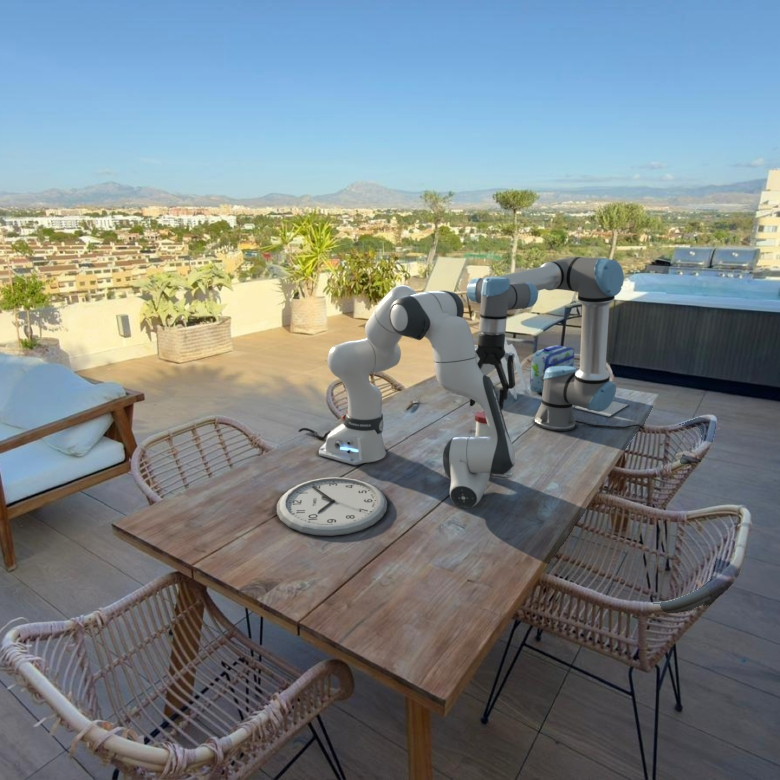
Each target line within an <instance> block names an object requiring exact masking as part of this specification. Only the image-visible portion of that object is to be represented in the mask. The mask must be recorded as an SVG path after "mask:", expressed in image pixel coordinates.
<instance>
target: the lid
mask: <svg viewBox="0 0 780 780" xmlns="http://www.w3.org/2000/svg"><path fill="white" fill-rule="evenodd" d="M474 420H475V422H476V421H477V422H479V423H484V424H487V420H486V417H485V413H484V410H483V411H478V412H477V411H476V413H475V416H474Z"/></svg>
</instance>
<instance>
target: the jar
mask: <svg viewBox="0 0 780 780" xmlns="http://www.w3.org/2000/svg"><path fill="white" fill-rule="evenodd" d="M486 436H491V434H490V431H489V427H488V424H484V423H479V422H477V421H476V420H475V436H474V437H486Z"/></svg>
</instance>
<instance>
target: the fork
mask: <svg viewBox="0 0 780 780" xmlns="http://www.w3.org/2000/svg"><path fill="white" fill-rule="evenodd" d="M420 399H421V396H420V395H417V394H416V395H415V396H414V398H413V400H412V403H410V404H409V405H408V406H407V407H406V411H408V410H409V409H410V408H412V407H413V406H414V404H418V403H419V402H420Z"/></svg>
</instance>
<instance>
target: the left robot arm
mask: <svg viewBox="0 0 780 780" xmlns="http://www.w3.org/2000/svg"><path fill="white" fill-rule="evenodd" d="M461 298H462V297H460V295H458V294H457V293H455V292H453V291H450V290H438V291H437V290H435V291H434V290H433V291H432V290H431V291H423V292H420V293H418V292H417V291H415V289H413V288H412V287H410V286H408V285H402V284H401V285H397V286H394V287H393V288H392V289H391V290H389V291H388V292H387V294H385V296H384V297H383V298H382V299H381V300H380V301H379V303H378V304H377V306H376V307H375V308H374V310H373V312H372V314H371V315H370V317H369V318H368V319H367V321H366V323H365V325H364V331H365V336H366V337H365V338H363V339H358V340H349V341H345V342H341V343H339V344H336V345H333V346H332V347H331V348H330V349H329V351H328V354H327V357H326V359H327V366H328V369H329V370H330V372H331V374H333V375H334V376H335V377H336V378H338V379H339V380H340V381H341V382H342V384H343V385H344V388H345V391H346V396H347V410H346V411H345V413H343V414H342V416H341V417H340V422H342V423H340V424H339V425H338V426H336V427H334V428H332V429H329V430H328V431H327V432H325V433H324V435H323V436H322V435H319V434H318V432H317V431H315V430H313V429H311V428H308V427H302V428H300V429H298V431H297V432H298V433H301V432H303V431H306V432H310V433H312V434H314V437H315V438H317V439H320V440H325V442H324V443H323V444H322V445H321V446H320V447H319V449H318V455H319V456H321V457H324V458H328V459H330V460H331V459H332V460H335V461H338V462H342V463H345V464H349V465H352V466H357V465H362V464H366V463H374V462H377V461H380V460H382V459H384V458H385V457H386V456H387V452H386V448H385V444H384V436H383V435H384V434H383V431H384V414H383V413H382V412H383V411H382V410H383V393H382V391H381V390H380V388H379V387H378V386H377V385H375V384H373V383H371V382H370V374H374V373H380V372H384V371H387V370H390V369H392V368H394V367H396V366H397V365H398V364H399V363H400V360H401V358H402V351H401V348H400V345H399V342H400V340H401V339H402V337H408V338H412V339H414V340H417V341H422V340H423V339H424V338H426V339H427V340H428V341H429V343H430V344H431V350H432V360H433V367H434V368H433V369H434V375H435V378H436V381H437V383H439V385H440V386H441V387H442V388H443V389H445V390H446V391H448V392H449V393H452V394H453V395H454V394H455V395H457V396H460V397H464V398H466V399H469V400H470V399H472V400H474V401H475V403H477V404H478V405H480V407H481V409H482V410H483V411H484V413H485V417H486V420H487V424H488V427H489V431H490V434H491V436H486V437H475V436H455V437H451V438H450V439H449V440H448V441H447V443H446V444H445V446H444V450H443V453H442V465H443V469H444V476H445V478H446V479H448V480H450V486H449V496H450V500H451V502H453V504H455V506H458V507H460V508H464V509H465V508H467V509H470V508H472V507H474V506H476V505H477V504H478V503H479V502H480V501H481V499H482V498H483V496H484V493H485V492H486V488H487V485H488V483H489V481H490V478H494V479H500V480H508V479H509V478H510V479H511V478H512V477H513V475H514V468H515V461H516V452H515V448H514V445H513V443H512V439H511V438H510V435H509V432H508V428H507V425H506V421H505V419H504V414H503V411H502V410H501V407H500V404H499V397H498V394H497V391H496V387H495V385H494V383H493V381H492V379H491V377H490V376H487V375H484V374H483V373H482V372H481V370H480V368H479V366H478V364H477V360H476V353H475V346H476V345H475V343H474V337H473V334H472V333H473V332H472V330H471V326H470V324H469V322H468V321H467V319H465V318H463V317H464V314H465V307H464V303H463V300H462V299H461Z"/></svg>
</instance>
